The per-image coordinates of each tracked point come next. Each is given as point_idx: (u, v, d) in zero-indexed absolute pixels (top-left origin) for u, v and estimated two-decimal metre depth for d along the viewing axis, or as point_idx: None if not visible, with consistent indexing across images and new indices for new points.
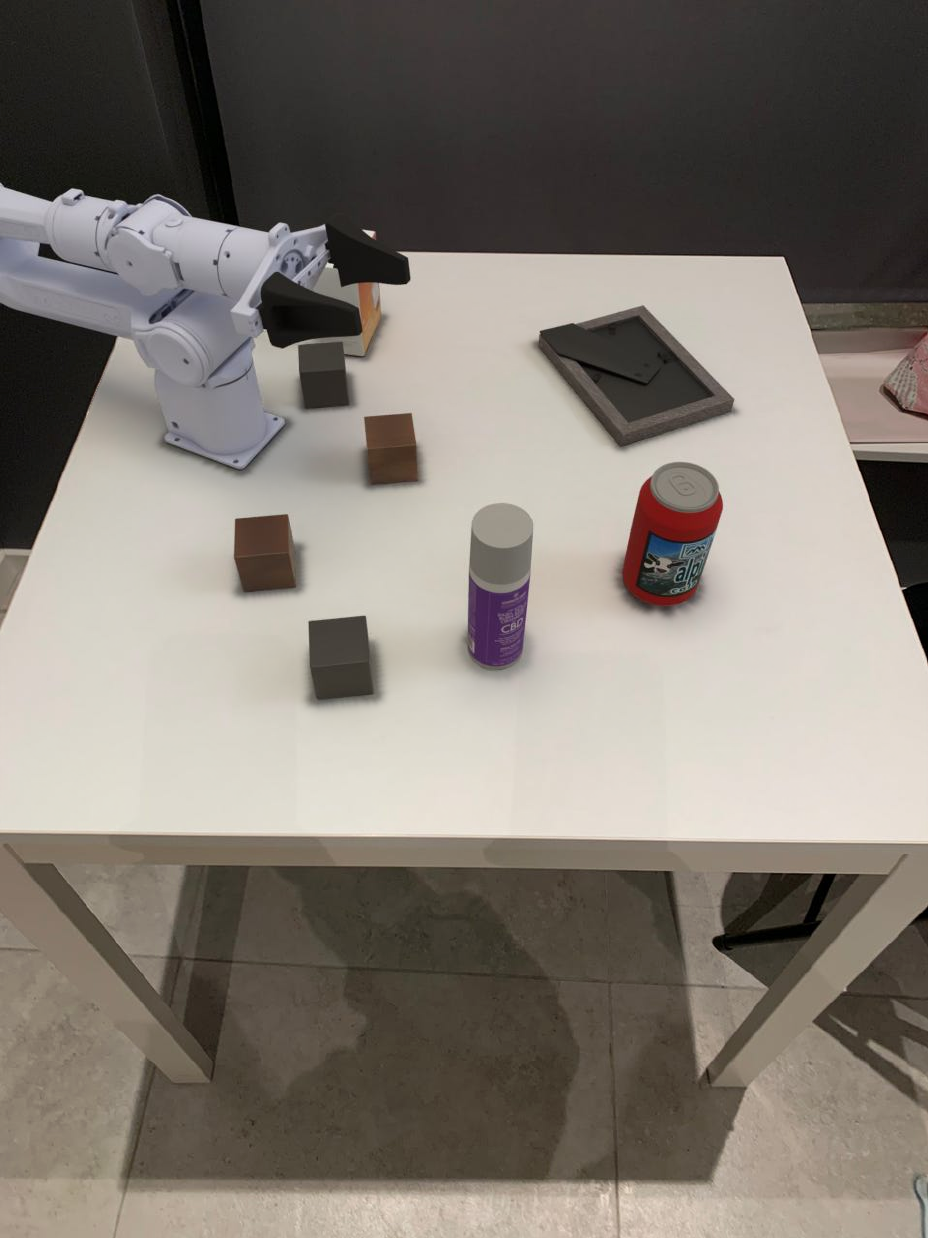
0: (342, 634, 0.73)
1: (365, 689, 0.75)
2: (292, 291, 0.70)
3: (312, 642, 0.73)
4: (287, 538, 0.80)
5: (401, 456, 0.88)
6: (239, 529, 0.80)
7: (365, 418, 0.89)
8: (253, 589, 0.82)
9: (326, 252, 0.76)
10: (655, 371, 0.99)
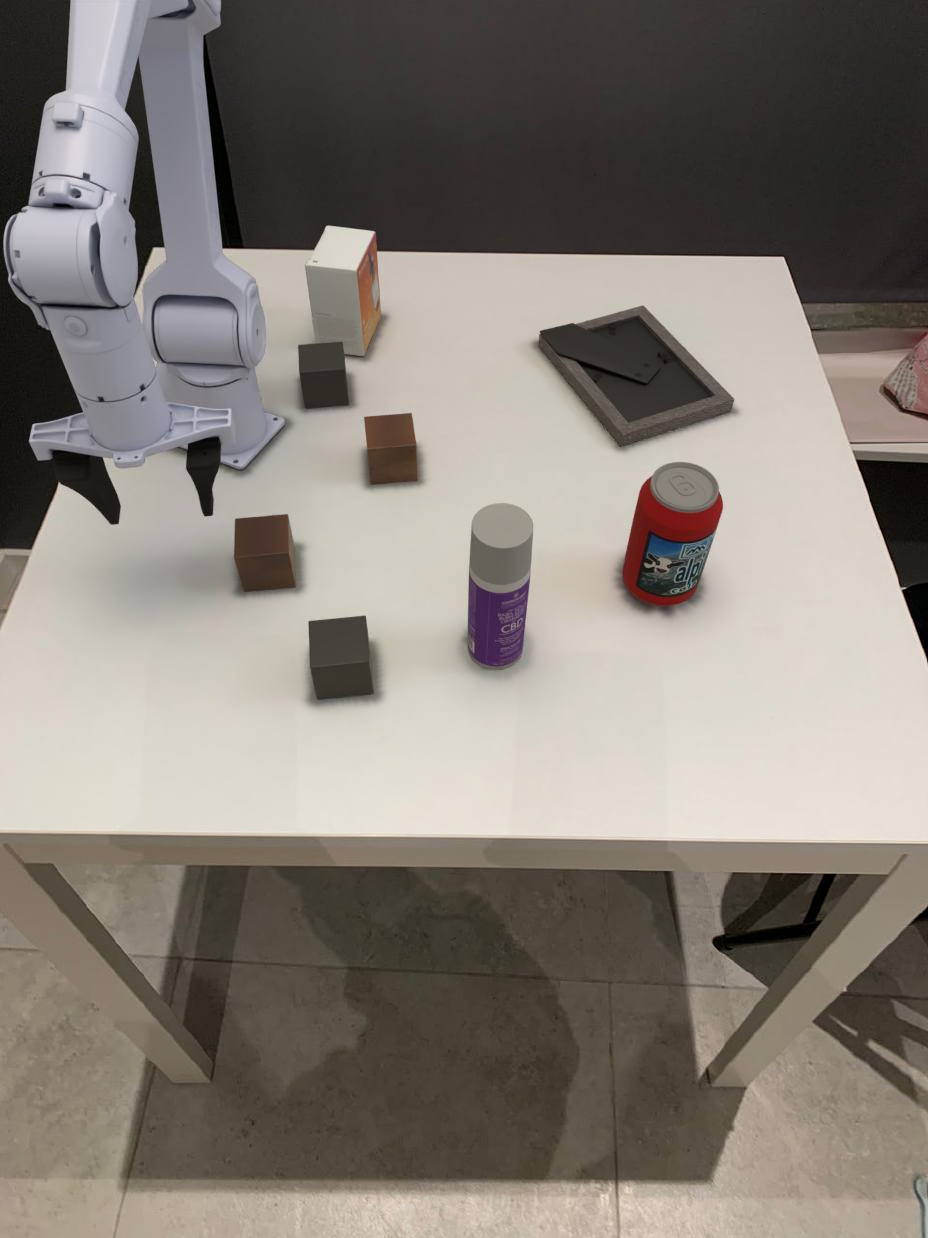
0: (342, 634, 0.73)
1: (365, 689, 0.75)
2: (83, 490, 0.71)
3: (312, 642, 0.73)
4: (287, 538, 0.80)
5: (401, 456, 0.88)
6: (239, 529, 0.80)
7: (365, 418, 0.89)
8: (253, 589, 0.82)
9: None
10: (655, 371, 0.99)
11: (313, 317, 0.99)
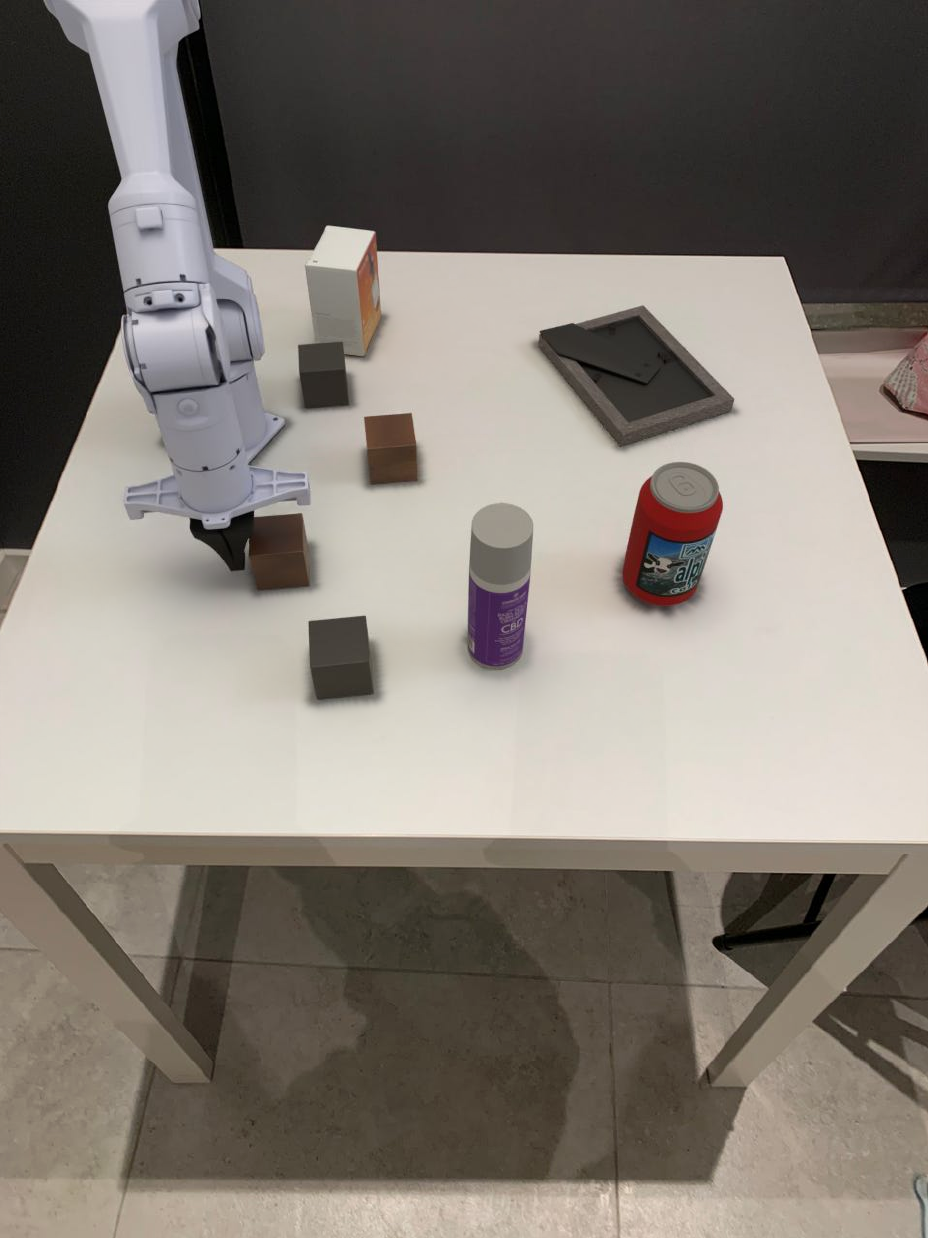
0: (342, 634, 0.73)
1: (365, 689, 0.75)
2: (212, 542, 0.77)
3: (312, 642, 0.73)
4: (301, 537, 0.80)
5: (401, 456, 0.88)
6: (253, 528, 0.80)
7: (365, 418, 0.89)
8: (267, 588, 0.82)
9: None
10: (655, 371, 0.99)
11: (313, 317, 0.99)
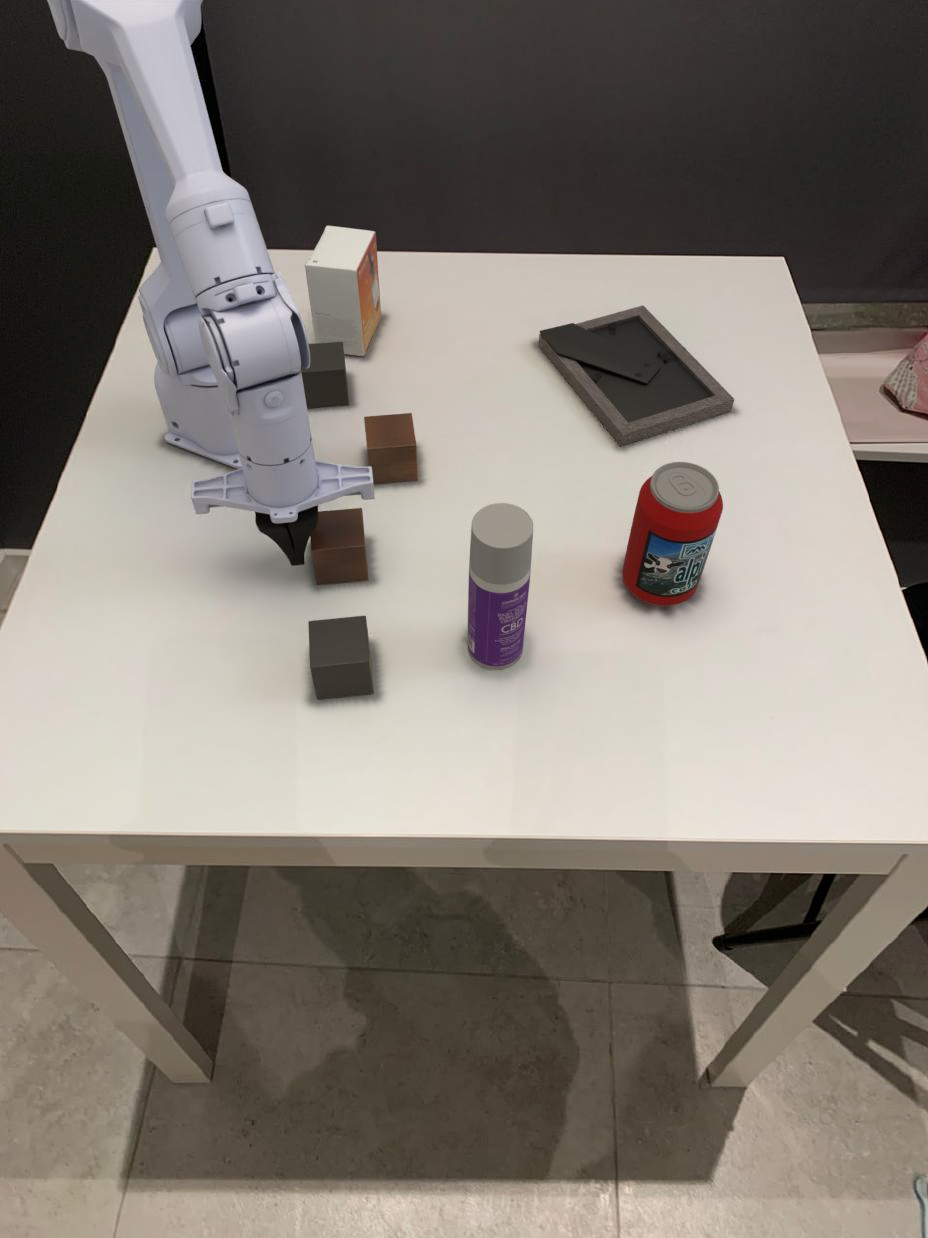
0: (342, 634, 0.73)
1: (365, 689, 0.75)
2: (277, 537, 0.77)
3: (312, 642, 0.73)
4: (362, 532, 0.80)
5: (401, 456, 0.88)
6: None
7: (365, 418, 0.89)
8: (327, 582, 0.82)
9: None
10: (655, 371, 0.99)
11: (313, 317, 0.99)
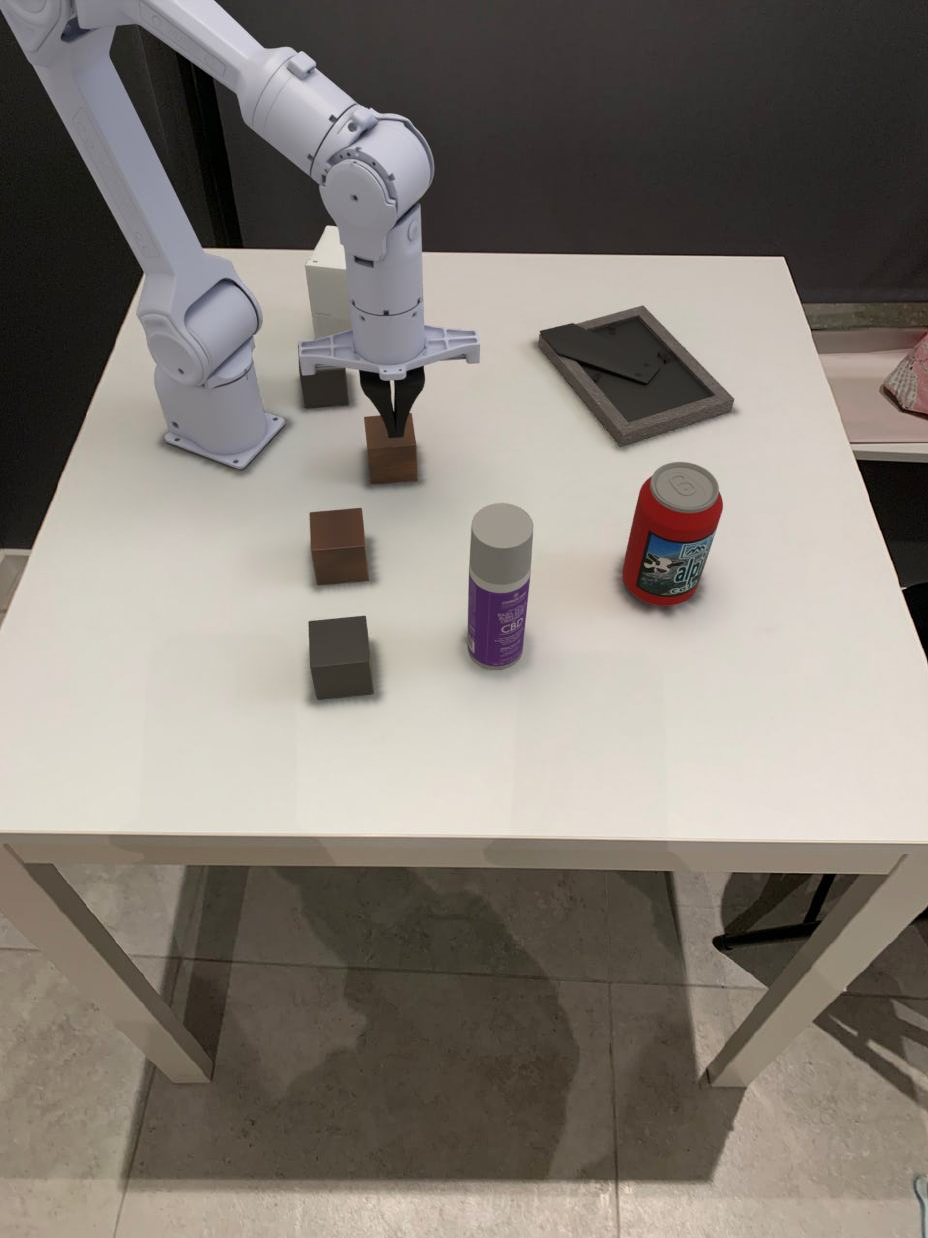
0: (342, 634, 0.73)
1: (365, 689, 0.75)
2: (379, 401, 0.77)
3: (312, 642, 0.73)
4: (362, 531, 0.80)
5: (401, 456, 0.88)
6: (314, 522, 0.81)
7: (365, 418, 0.89)
8: (327, 582, 0.82)
9: None
10: (655, 371, 0.99)
11: (313, 317, 0.99)
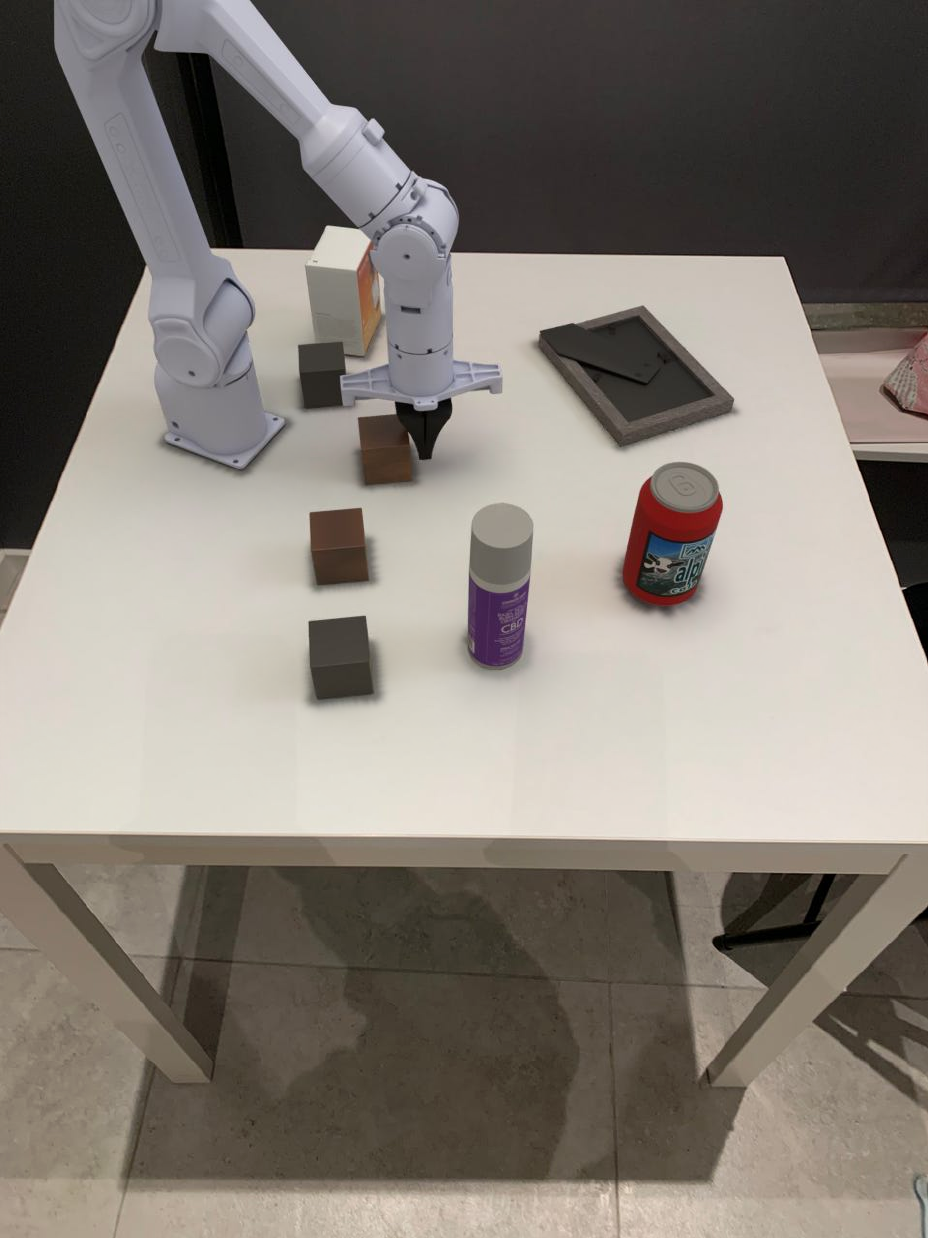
0: (342, 634, 0.73)
1: (365, 689, 0.75)
2: (413, 428, 0.86)
3: (312, 642, 0.73)
4: (362, 531, 0.80)
5: (395, 457, 0.88)
6: (314, 522, 0.81)
7: (358, 419, 0.89)
8: (327, 582, 0.82)
9: None
10: (655, 371, 0.99)
11: (313, 317, 0.99)
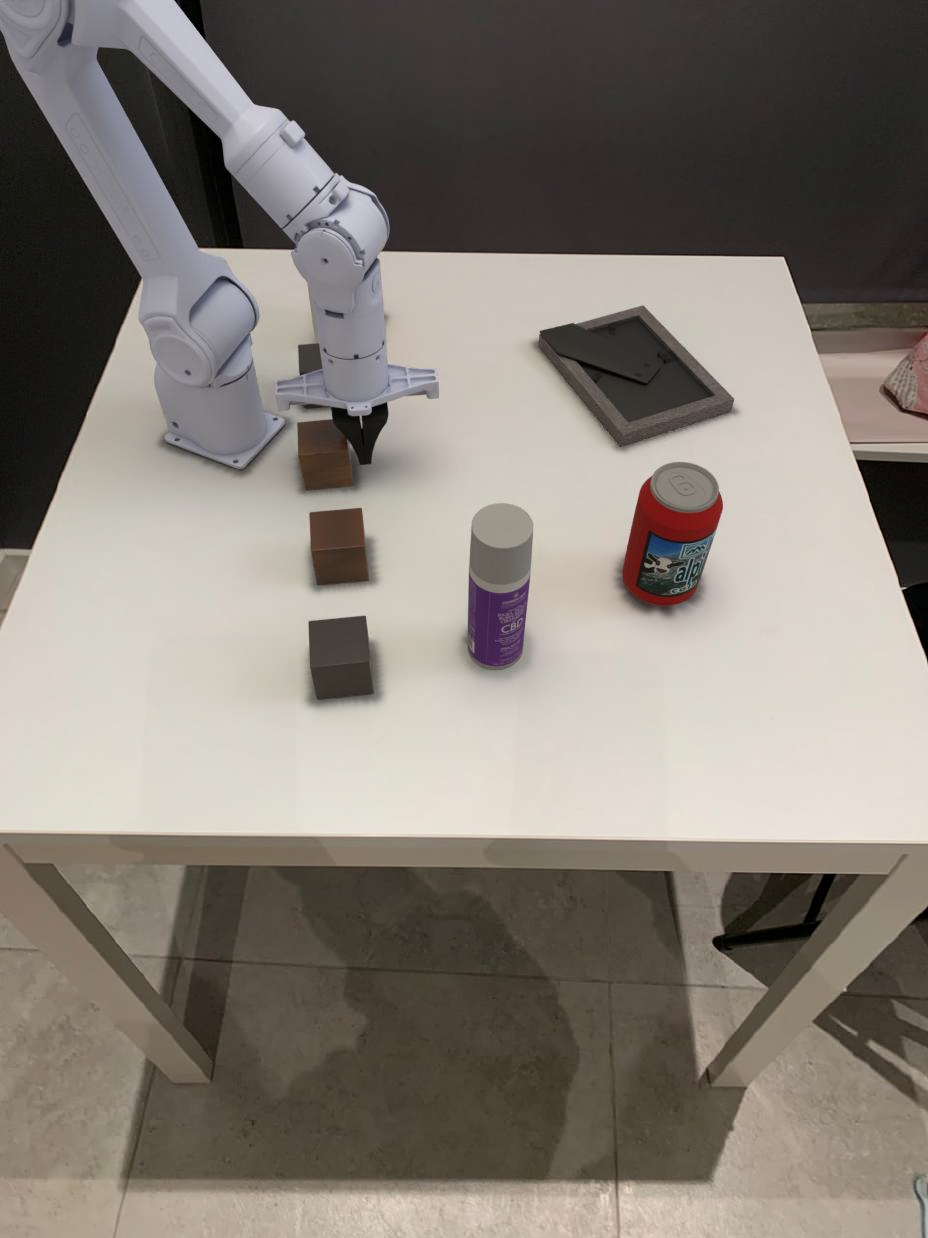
0: (342, 634, 0.73)
1: (365, 689, 0.75)
2: (350, 433, 0.85)
3: (312, 642, 0.73)
4: (362, 531, 0.80)
5: (333, 462, 0.87)
6: (314, 522, 0.81)
7: (298, 424, 0.88)
8: (327, 582, 0.82)
9: None
10: (655, 371, 0.99)
11: (313, 317, 0.99)
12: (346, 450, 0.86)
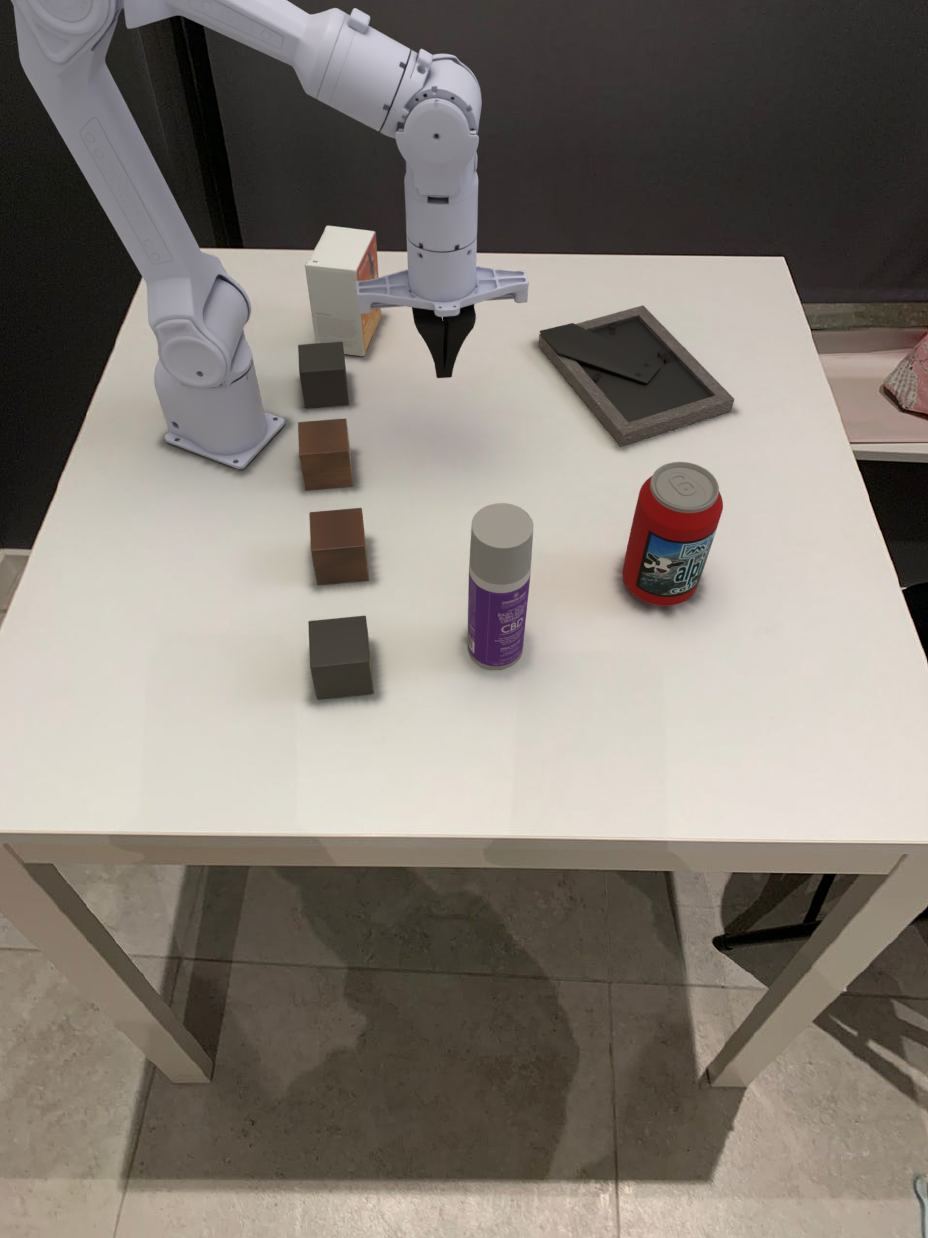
0: (342, 634, 0.73)
1: (365, 689, 0.75)
2: (431, 340, 0.81)
3: (312, 642, 0.73)
4: (362, 531, 0.80)
5: (334, 462, 0.87)
6: (314, 522, 0.81)
7: (299, 424, 0.88)
8: (327, 582, 0.82)
9: None
10: (655, 371, 0.99)
11: (313, 317, 0.99)
12: (347, 451, 0.86)
